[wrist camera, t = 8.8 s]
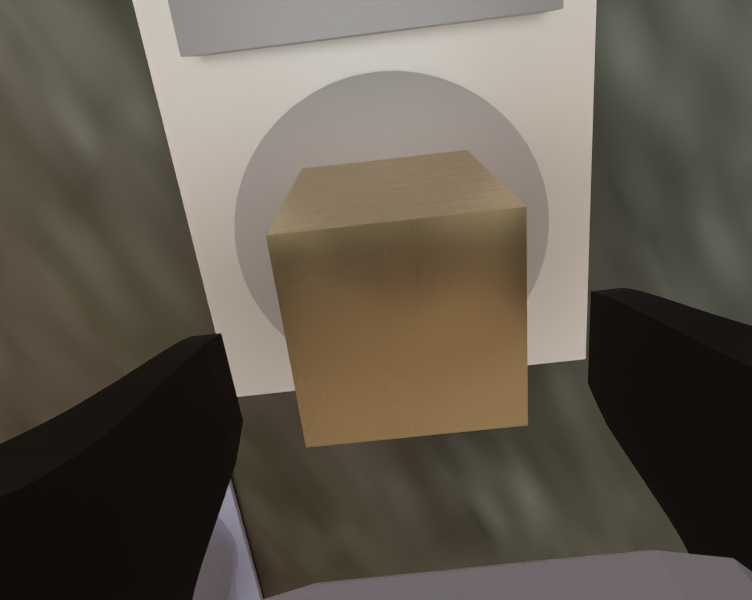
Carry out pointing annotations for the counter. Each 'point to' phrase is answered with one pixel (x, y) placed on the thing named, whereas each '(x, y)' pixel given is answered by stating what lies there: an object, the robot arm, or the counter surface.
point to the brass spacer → (403, 298)
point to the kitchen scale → (372, 134)
